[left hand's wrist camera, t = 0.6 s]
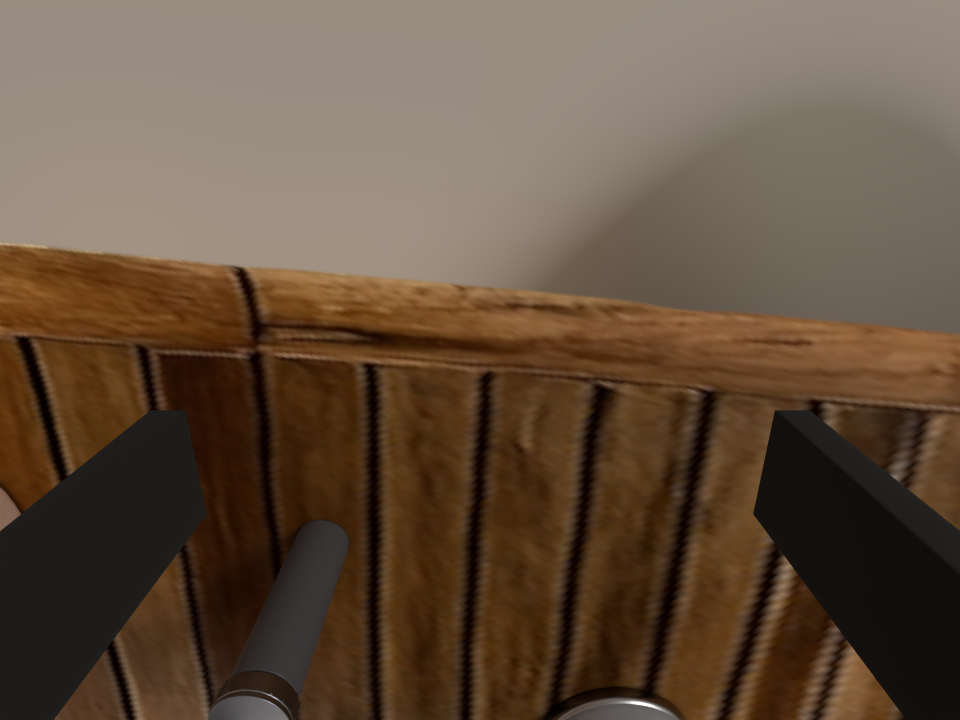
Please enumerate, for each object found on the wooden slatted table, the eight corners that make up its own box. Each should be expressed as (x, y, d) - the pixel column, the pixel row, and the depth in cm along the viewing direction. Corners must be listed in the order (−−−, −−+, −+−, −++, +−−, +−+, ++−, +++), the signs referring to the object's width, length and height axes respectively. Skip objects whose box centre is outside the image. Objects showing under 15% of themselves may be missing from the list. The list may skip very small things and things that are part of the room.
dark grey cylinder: (318, 510, 47) (243, 679, 32) (359, 540, 48) (305, 718, 33) (286, 541, 48) (199, 719, 33) (326, 570, 49) (260, 755, 34)
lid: (250, 657, 33) (239, 682, 31) (317, 699, 34) (309, 725, 32) (203, 699, 34) (189, 726, 32) (268, 739, 35) (258, 766, 34)
